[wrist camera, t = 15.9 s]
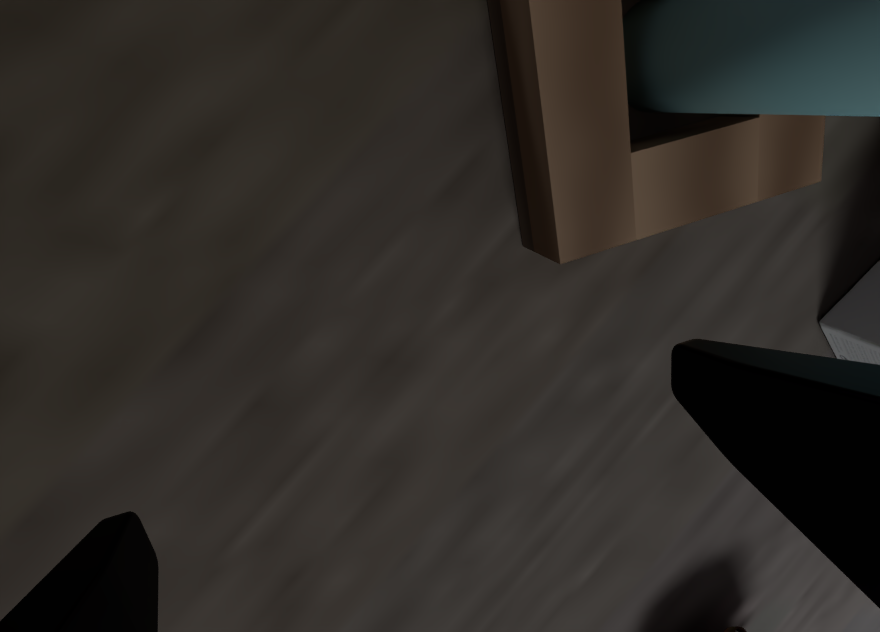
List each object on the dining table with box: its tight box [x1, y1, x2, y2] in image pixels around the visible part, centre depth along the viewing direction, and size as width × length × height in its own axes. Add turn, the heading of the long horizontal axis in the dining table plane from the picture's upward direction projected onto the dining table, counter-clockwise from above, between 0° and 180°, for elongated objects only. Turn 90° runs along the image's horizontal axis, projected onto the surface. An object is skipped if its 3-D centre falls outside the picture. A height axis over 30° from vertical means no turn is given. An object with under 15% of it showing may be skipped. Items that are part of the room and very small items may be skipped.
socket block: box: [487, 0, 825, 264], centre depth 21 cm, size 12×12×3 cm
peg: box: [622, 0, 880, 117], centre depth 16 cm, size 4×4×13 cm
